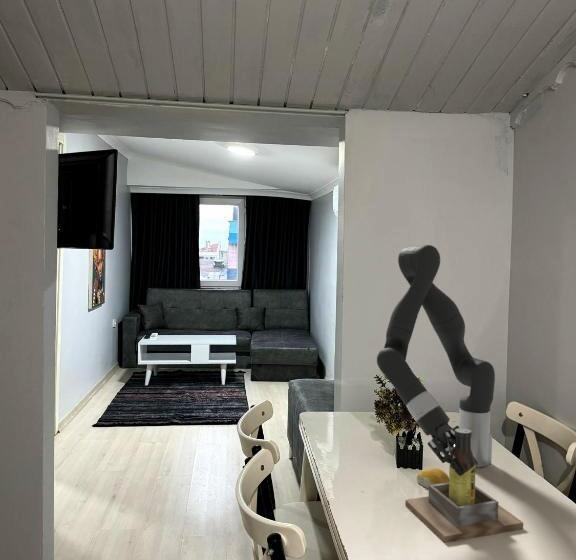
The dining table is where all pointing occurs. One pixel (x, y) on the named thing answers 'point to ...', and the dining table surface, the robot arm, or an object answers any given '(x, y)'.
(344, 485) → the dining table surface
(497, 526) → the bottle stand
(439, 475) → the bread roll
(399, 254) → the robot arm
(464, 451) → the sauce bottle
